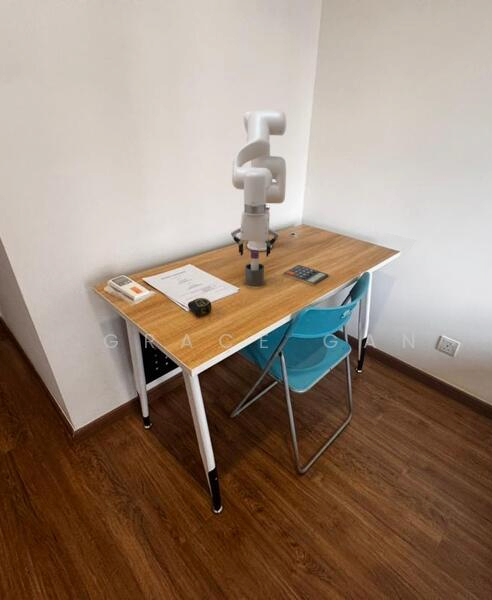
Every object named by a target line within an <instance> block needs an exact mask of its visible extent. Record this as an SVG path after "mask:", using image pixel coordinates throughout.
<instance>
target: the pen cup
mask: <svg viewBox="0 0 492 600" xmlns="http://www.w3.org/2000/svg"><path fill="white" fill-rule="evenodd" d="M244 278H245V279H244V280H245V285H246V286H248V287H252V288H257V287H258V288H259V287H262V286H263V285H264V284H265V266H264V264H262V263H259V270H251V262H250V263H247V264H246V265H245V266H244Z"/></svg>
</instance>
